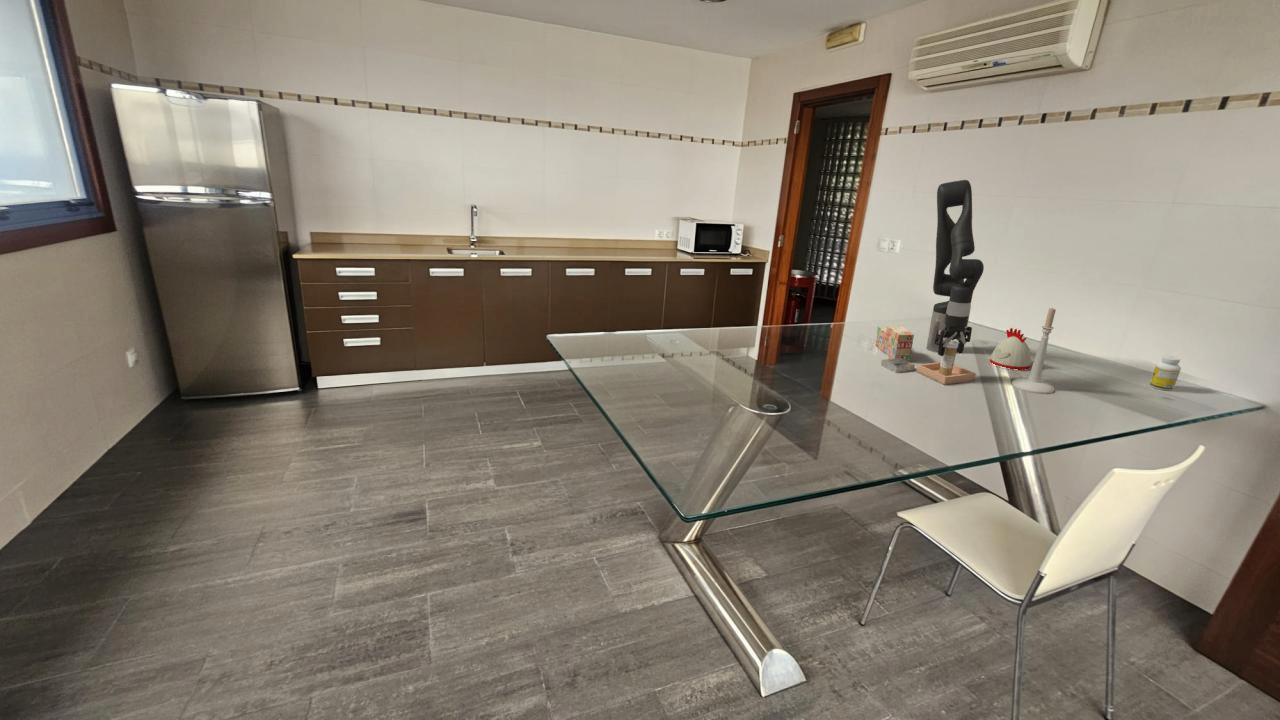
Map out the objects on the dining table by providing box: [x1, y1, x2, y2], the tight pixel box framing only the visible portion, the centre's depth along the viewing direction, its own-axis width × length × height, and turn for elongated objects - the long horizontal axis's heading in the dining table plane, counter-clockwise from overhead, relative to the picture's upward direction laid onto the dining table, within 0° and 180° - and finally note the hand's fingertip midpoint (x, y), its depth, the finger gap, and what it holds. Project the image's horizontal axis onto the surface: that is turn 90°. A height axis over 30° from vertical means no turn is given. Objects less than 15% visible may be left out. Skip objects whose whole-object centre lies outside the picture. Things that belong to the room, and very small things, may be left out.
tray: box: [916, 361, 977, 386], centre depth 207 cm, size 14×14×3 cm
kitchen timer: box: [989, 327, 1032, 371], centre depth 216 cm, size 14×14×15 cm
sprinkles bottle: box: [939, 340, 959, 376], centre depth 205 cm, size 5×5×14 cm
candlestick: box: [1011, 307, 1057, 395], centre depth 191 cm, size 13×13×30 cm
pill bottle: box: [1149, 355, 1182, 391], centre depth 192 cm, size 6×6×12 cm
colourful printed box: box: [875, 325, 915, 362], centre depth 231 cm, size 21×6×12 cm, turn 178°
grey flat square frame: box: [880, 358, 916, 374], centre depth 216 cm, size 9×9×2 cm
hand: (949, 354), depth 204 cm, fingers open, 8 cm apart
